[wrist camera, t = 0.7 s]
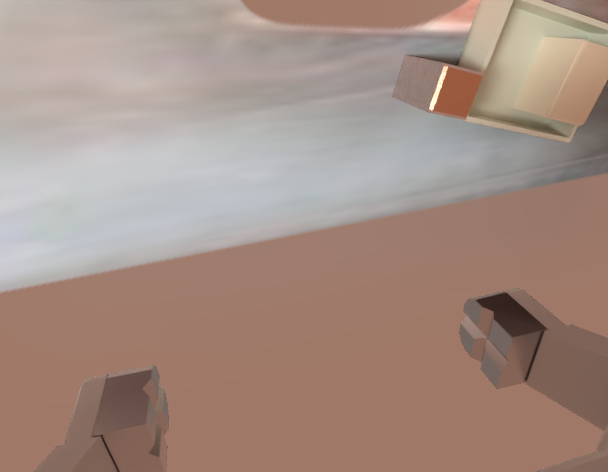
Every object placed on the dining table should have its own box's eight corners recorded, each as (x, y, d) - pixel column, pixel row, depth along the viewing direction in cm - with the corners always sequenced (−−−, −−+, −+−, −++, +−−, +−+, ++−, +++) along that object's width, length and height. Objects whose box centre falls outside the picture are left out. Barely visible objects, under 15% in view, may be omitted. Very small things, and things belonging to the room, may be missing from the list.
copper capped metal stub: (404, 54, 49) (447, 63, 41) (439, 63, 50) (486, 73, 42) (391, 96, 51) (429, 113, 43) (425, 104, 52) (467, 121, 44)
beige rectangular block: (544, 36, 51) (587, 39, 46) (578, 47, 53) (624, 51, 47) (513, 107, 55) (549, 118, 49) (545, 115, 57) (584, 127, 51)
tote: (483, -9, 47) (512, -10, 43) (592, 29, 53) (627, 30, 49) (440, 111, 53) (461, 120, 49) (542, 133, 59) (569, 143, 55)
